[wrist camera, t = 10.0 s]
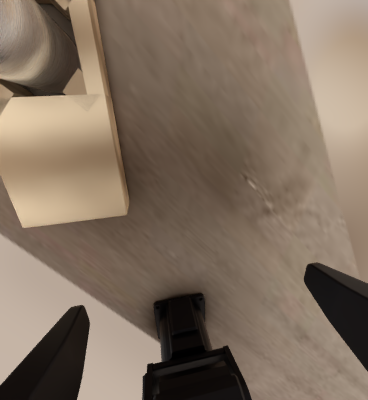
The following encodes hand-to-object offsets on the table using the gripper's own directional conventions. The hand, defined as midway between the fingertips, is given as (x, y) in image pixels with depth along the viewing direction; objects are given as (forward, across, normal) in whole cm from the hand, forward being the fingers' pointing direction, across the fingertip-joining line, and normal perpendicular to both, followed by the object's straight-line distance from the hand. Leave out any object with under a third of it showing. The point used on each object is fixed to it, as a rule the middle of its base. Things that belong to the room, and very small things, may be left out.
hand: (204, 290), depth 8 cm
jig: (+13, +8, -7) cm, 17 cm away
